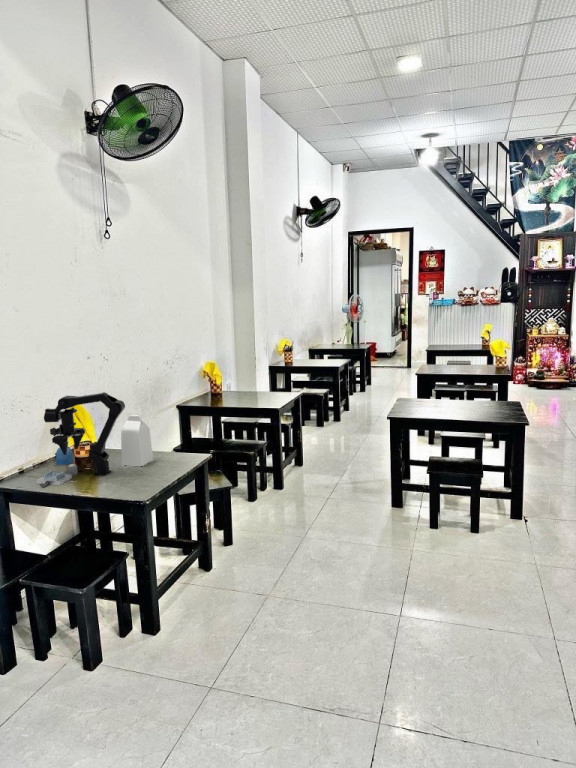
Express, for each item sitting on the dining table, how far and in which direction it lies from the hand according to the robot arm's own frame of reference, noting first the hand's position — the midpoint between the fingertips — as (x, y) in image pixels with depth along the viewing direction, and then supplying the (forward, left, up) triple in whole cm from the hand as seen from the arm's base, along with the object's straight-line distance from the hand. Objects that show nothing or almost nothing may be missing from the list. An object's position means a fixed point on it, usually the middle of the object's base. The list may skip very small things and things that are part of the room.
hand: (70, 451), depth 266 cm
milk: (-24, -22, -12) cm, 35 cm away
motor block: (+3, +12, -12) cm, 17 cm away
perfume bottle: (+16, -16, -12) cm, 26 cm away
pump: (0, 0, -12) cm, 12 cm away
